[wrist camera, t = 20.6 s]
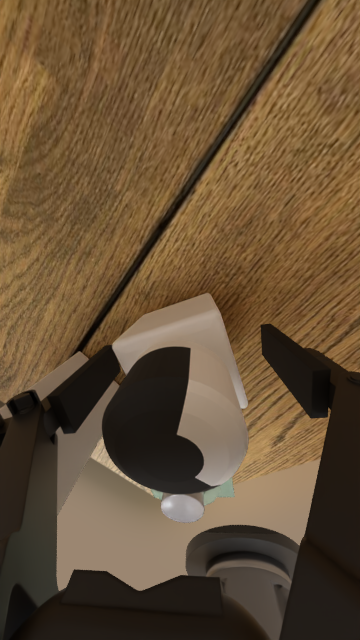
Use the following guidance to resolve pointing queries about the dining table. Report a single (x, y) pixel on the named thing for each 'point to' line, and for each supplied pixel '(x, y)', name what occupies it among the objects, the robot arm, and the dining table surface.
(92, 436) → the milk carton
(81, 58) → the dining table surface
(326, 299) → the dining table surface
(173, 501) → the grey push button
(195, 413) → the medicine bottle
